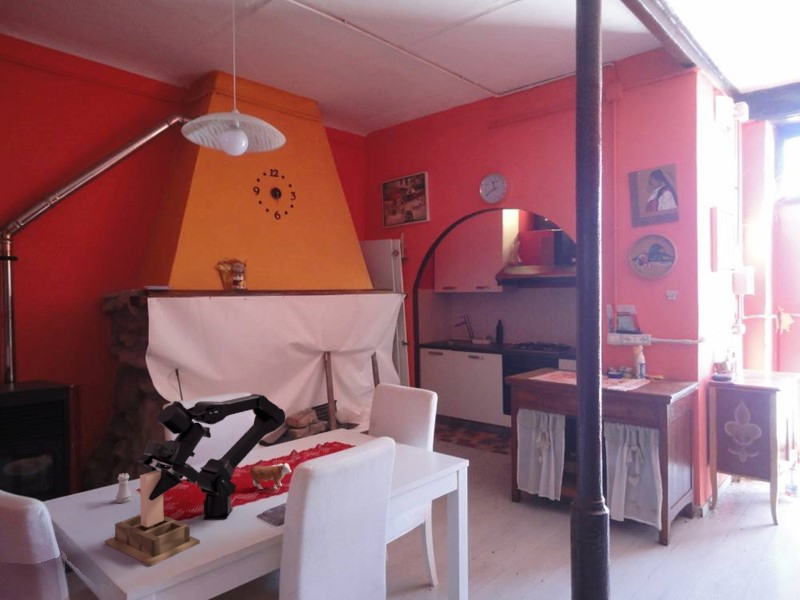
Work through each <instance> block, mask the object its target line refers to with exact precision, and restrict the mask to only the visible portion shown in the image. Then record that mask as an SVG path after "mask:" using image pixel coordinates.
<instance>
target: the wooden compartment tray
mask: <svg viewBox="0 0 800 600" xmlns="http://www.w3.org/2000/svg"><path fill="white" fill-rule="evenodd" d="M163 517H164V521H161V522H159V523H156V524H154V525H152V526H149V527H145V526H142V525H141V513H140V514H137V515H135V516H132V517H129V518H127V519H125V520H122V521H119V522H116V523H114V536H113V537H111V538H109V539H106V540H104V545H106V546H109V547H110V548H113V549H115V550H117V551H118V552H121V551H122V552H121V553H123V552H124V553H123V554H125V553H126V554H125V555H127V554H128V555H127V556H129V555H130V557H131V558H134V559H136V560H138V559H139V561H141V562H142V561H143V563H145V564H146V563H147V565H149V566H151V567H152V566H154V565H156V564H158V563H160V562H163V561H164V560H167V559H170V558H172V557H173V556H175V555H178V554H180V553H182V552H185V551H186V550H188V549H191V548H193V547H194V546H197V545H199V544H200V543H201V540H200V539H198V538H196V537H194V536H190V533H191V532H190V524H187V523H184V522H181V521H179V520H176V519H174V518H172V517H168V516H165V515H163Z"/></svg>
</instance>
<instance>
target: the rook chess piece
mask: <svg viewBox="0 0 800 600" xmlns="http://www.w3.org/2000/svg"><path fill="white" fill-rule="evenodd" d="M129 478H130V475H129V473H127V472H126V473H119V474H118V477H117V480H118V490H117V491H118V492H117V494H116V496H115V502H116V503H118V504H125V503H128V502H130V501H131V500H132V498H133V497H132V492H131V491H130V489H129V482H130V481H129Z"/></svg>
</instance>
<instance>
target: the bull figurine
mask: <svg viewBox="0 0 800 600" xmlns="http://www.w3.org/2000/svg"><path fill="white" fill-rule="evenodd" d="M249 474H250V477H251V480H252V484H253V486H255V487H256V486H258V487H257V488H258V490H260V489H263V490H264V487H263V486H262V485H261V483H260V482H261V479H262V480H263V481H264V482H265V483H267V482H268V481H270V480H273V483H274V485H273V489H274V490H278V487H280V486H282V485H283V484H282V483H281V481H282V480H283V478H285V476H286V475H289V474H292V470H291V467H290V463H286V462H285V463H284V464H283V463H278V464H273V465H269V466H268V465H267V466H266V465H265V466H262V465H261V466H260V465H259V466H254V465H253V466H252V467H251V468H250V470H249ZM277 484H278V487H277ZM282 487H283V486H282Z"/></svg>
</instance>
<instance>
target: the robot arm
mask: <svg viewBox="0 0 800 600" xmlns="http://www.w3.org/2000/svg"><path fill="white" fill-rule="evenodd" d="M247 411H252V414H254V415H255V416H254V419H253V423H252V425H251V427H249V428H248V430H246V432H245V433H244V434H243V435H242V436H241V437H240V438H239V439H238V440H237V441H236V442H235V443H234V444H233V445H232V446H231V447H230V448H229V449H228V450H227V452H225V453H224V455H222V457H221V458H219V459H215V458H212V457H211V458H210V459H209V460H207V462H206V463H205V464H204V465H203V466H201V467H200V468H199V469H200V471H198V470H197V469H195V468H194V467H193V466H192V465H190V464H189V463H186V462H187V461H188V459H189V458H190V457H191V458H194V457H195V455H196V453H195V452H194V450H195V449H196V447H197V446H198V445H199V443H200V441H201V440H202V439H203V438H208V439H210V438H211V437H212V434H211V432H210V431H211V428H210V426H209V427H208V426H204V425H202V424H205V425H216V424H218V423H220V422H221V421H224V420H225V418H226V417H229V416H232V415H235V414H239V413H244V412H247ZM285 421H286V413H285V411H284V409H282V408H280V406H278V405H277V404H275V403H273V402H272V401H271V400H269V399H268V397H266V396H265V395H264V394H257V393H252V394H250V395H246V396H241V397H237V398H233V399H227V400H223V401H210V400H209V401H207V400H203V401H198V402H196V403H195V404H194V406H191V407H188V408H186V407H185V406H184V405H183V403H181V401H179V400H175V401H173V402H172V403H171V404H169V405H168V406H166V407H165V408H164V409H162V410H161V411H160V412H159V414H158V416H157V422H158V423H160V424H161V426H163V427H164V428H166V430H168V431H169V432H170V433H172V434H173V435H176V437H175V438H174V440H172V439H169V440H165V441H164V442H163V443H162V442H158V441H154V440H150V439H149V440H148V442H147V444H146V447H145V449H144V452H143V453H142V454H141V455H140V456H139V458H137V462H139V463H140V464H141V465H143V466H145V467H146V468H147V470H148V471H147V473H149V472H152V471H155V470H158V471H161V478H160V480H159V481H158V483H157V485H156V486H155V488H154V490H153V491H152V493H151V495H150V497H149V499H150V500H151V501H153V500H154V499H156V498H157V497H159V496H160V495H162V494H163V495H164V493H166V492H167V491H170V490H171V489H173V488H174V487H176V486H177V485H179V484H182V483H184V481H183V478H186V481H187V482H188V483H191V484H193V485H195V484H197V487H199V489H200V491H201V493H202V494H205V498H204V500H203V515H204V516H203V519H204V520H226V519H228V517H229V516H230V515H231V513H232V512H233V511H234V510H233V507H232V495H234V494H235V492H236V489H237V484H235V483H234V482H233V481H232V479H233V475H234V470H235V469H236V468H237V467H238V466H239V464H240V463H241V462H242V461H243V460H244V459H245V458H246V457H247V456H248V455H249V453H250V452H251V451H252V450H253V449H254V448H255V447H256V446H257V445H258V443H260V442H261V440H262V439H263V438H264V437H265V436H266V435H268V434H271V433H272V432H275V431H276V430H278V429H279V428H280V427H282V426H283V424H284V423H285Z"/></svg>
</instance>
